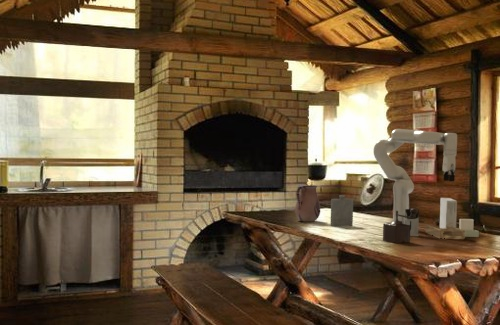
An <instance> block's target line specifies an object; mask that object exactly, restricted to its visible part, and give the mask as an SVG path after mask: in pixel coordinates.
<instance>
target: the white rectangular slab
mask: <svg viewBox="0 0 500 325" xmlns="http://www.w3.org/2000/svg"><path fill="white" fill-rule="evenodd" d="M458 221H459V222H458V224H459V227H458V228H459V229H462V230H465V231H473V230H474V221H475V219H473V218H459V220H458Z"/></svg>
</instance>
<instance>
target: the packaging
mask: <svg viewBox="0 0 500 325" xmlns="http://www.w3.org/2000/svg"><path fill="white" fill-rule="evenodd" d="M439 207H440V208H439V209H440V211H439V228H446V225H450V226H453V227H456V228H457V214H458V213H457V211H458V200H456V199H453V198H451V197H440V203H439Z"/></svg>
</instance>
